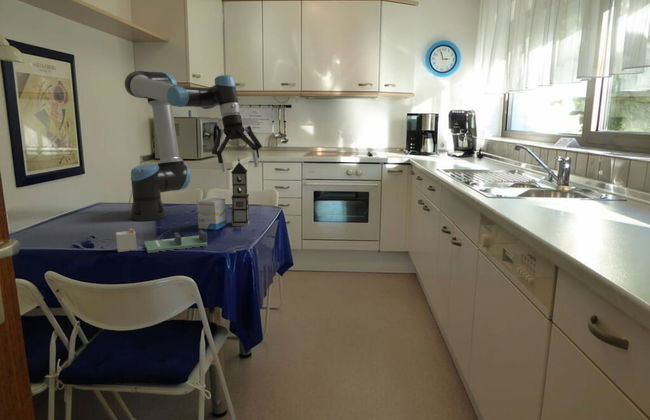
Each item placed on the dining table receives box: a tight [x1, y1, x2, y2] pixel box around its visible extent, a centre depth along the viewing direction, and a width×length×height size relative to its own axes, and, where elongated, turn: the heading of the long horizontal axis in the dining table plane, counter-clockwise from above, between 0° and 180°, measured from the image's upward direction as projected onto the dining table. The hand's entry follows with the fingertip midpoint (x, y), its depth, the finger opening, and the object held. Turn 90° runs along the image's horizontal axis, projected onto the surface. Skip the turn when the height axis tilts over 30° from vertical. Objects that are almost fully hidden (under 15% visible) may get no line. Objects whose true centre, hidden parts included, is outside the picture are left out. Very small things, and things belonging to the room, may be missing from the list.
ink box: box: [196, 197, 227, 231], centre depth 189 cm, size 9×8×12 cm
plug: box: [115, 228, 138, 253], centre depth 158 cm, size 4×6×7 cm, turn 116°
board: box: [143, 229, 209, 254], centre depth 164 cm, size 12×20×4 cm, turn 117°
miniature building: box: [230, 158, 250, 227], centre depth 192 cm, size 7×7×30 cm
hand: (241, 169), depth 182 cm, fingers open, 13 cm apart
